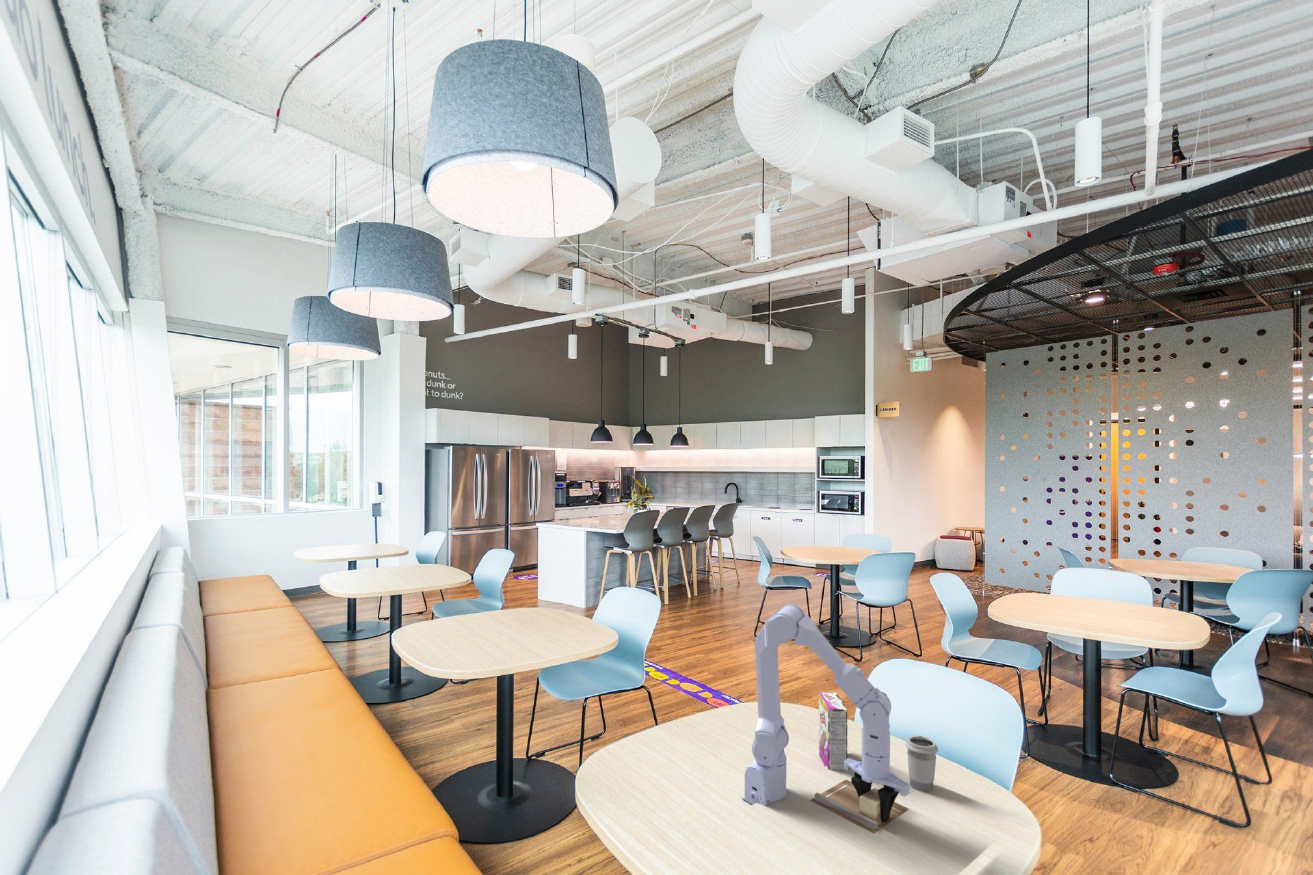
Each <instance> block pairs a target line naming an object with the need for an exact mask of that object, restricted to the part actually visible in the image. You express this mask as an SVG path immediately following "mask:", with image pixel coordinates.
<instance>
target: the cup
mask: <svg viewBox="0 0 1313 875" xmlns="http://www.w3.org/2000/svg"><path fill="white" fill-rule="evenodd" d="M905 747H906V749H907V767H908V776H909V784H910V788H912V789H914V790H915V791H918V792H922V793H929V792H931V791H933V788H934V781H935V775H936V774H935V773H936V764H937V763H936V761H937V754H936V753H938V752H939V748H938V745H937V744H936V741H935V740H933V739H931V738H930V737H926V736H923V735H912V736H909V737H908V739H907V740H906V742H905Z"/></svg>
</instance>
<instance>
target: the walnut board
mask: <svg viewBox="0 0 1313 875" xmlns="http://www.w3.org/2000/svg"><path fill="white" fill-rule="evenodd" d="M809 801H810V802H812V803H813V804H816V805H818V806H819V807H821V808H824V809H826V810H828V811H829V812H832V813H834V814H835V815H837V816H839V817H841V818H843V819H845V820H847V821H848V822H851V823H852V824H854V825H856V826H859V827H860V828H862V829H864V830H866V831H868V832H871V833H872V834H876V833H877V832H878V831H879V830H881V829H883V828H884V827H886V826H887V825H888V824H890V823H891V822H893V821H894V820H895V819H897V818H898V817H900V816H901V815H903V814H904V813H905V812H907V811H909V810H910V809H909V807H906V806H904V805H902V804H900V803H898V802H895V801H894V803H893V806H892V813H891V817H889V819H888V820H887V821H885V822H882V823H880V824H879V825H878V826H877V822H875V821H873V820H871V819H869V818H867V817H865V816H863V815H861V814H859V797H858V794H857V791H856V789H855V787H854V785H853V784H852V782H851V780H848V779H844V780H843V781H841V782H839V783H837V784H836V785H834V786H832V787H830V788H829V789H826V790H825V791H823V792H822V793H819V792H816V793H814V797H813V798H811V799H809Z"/></svg>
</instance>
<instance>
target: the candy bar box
mask: <svg viewBox="0 0 1313 875" xmlns="http://www.w3.org/2000/svg"><path fill="white" fill-rule="evenodd" d="M818 755H819V757H820V760H821V761H822V763H823V765H824V767H827V770H830V771H831V770H832V771H845V770H844V761H845V760H847V759H848V709H847V707H846V706H845V704H844V702H843V701H842V699H841V697H840V696H839V695H838V693H837V692H831V691H830V692H829V691H827V692H825V691H820V692H818Z"/></svg>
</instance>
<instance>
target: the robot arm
mask: <svg viewBox="0 0 1313 875" xmlns="http://www.w3.org/2000/svg"><path fill="white" fill-rule="evenodd" d="M793 639H795V640H794V641H793V644H794V645H796V646H797V645H799V646H806V647H808V648H810V649H811V651H812V652H813V653H814V654H815V655H816V656H817V657H818V658H819V659H820V660H821V661H822V662H823V663H824V665H826V666H827V668H828V669H829V670H831V671H832V672H833V674H834V683H835V684H836V685H837V686H838V687H839V690H841V691H842V692H843V693H844V694H845V696H846V697H847V699H849V700H850V701H851V702H852V704H854V706H855V707H856V708H857V709H859V710H860V711H859V716H860V719H861V721H862V728H861V761H859V760H855V759H852V758H850V757H847V760H845V761H844V770H843V771H847V772H849V771H851V772H853V773H854V775H853V776H852V777H851V778H850V779H851V780H850V782H852V784H853V785H854V787H855V789H856V791H857V794H858V797H860V796H862V795H863V794H865V793H867V792H868V791H870V790H871V789H872V785H873V783H875V784H879V785H881V786H882V787H881V788H878V789H879V790H878V795H879V799H880V806H881V821H883V822H885V821H887V820H888V819H889V817H890V812H891V809H892V806H893V803H894V802H895V801H896V799H897V797H898V796H899V795H900V796H902V797H907V796H908V795H910V793H911V792H910V789H911V785H910V783H908V782H906V781H904V780H902V779H901V778H899V777H898V775H897V776H896V775H895V774H894V773H892V772H891V760H890V759H891V731H890V726H891V725H890V715H891V711H892V703H891V700H890V698H889V697H888V694H887V693H885V692H884V691H882V690H880V689H879V688H878V687H874V685H873V684H872V683H871V682H870V681H869V679H868V678H867V677H866V676H865V675H864V674H865V671H864V670H863V669H862V668H861V667H859V668H858V667H857V666H856V665H855V664H851V663H847V662H846V661H845V660H844V659H843V658H842V656H840V654H839V653H838V651H837V650H836V649H835V648H834V647H833V645H832V644H831V643H830V642H829V640H827V638H826V637H825V635H823V633H822V632H821V631H820V629H818V627H817V625H816V624H815V622H814V621H813V620H812V618H811V617H810V616H808V615H807V614H806V613H805V611H804V610H803V609H802V608H801V607H800V606H799V605H797V604H793V603H792V604H791V603H789V604H785V605H784V606H782V607H781V608H779V609H778V610H777V611H775V612H774V614H773V615H772V616H770V617H769V618H768V619H767V620H765V621H764V624H763V626H762V628H761V629H760V631H759V632H758V634H757V635H756V637H755V639H754V651H755V652H754V654H755V658H754V659H755V672H756V673H755V675H756V678H755V679H756V693H757V694H756V697H757V715H758V718H757V723H756V727H755V730H754V739H753V740H754V741H753V742H752V744H751V752H752V756H753V760H752V763H751V764H750V765H748V767H747V768H746V769H745V771H744V794H743V795H741V799H742V800H744V801H746V802H748V803H749V804H751V805H755V804H757V803H758V804H760V805H763V807H764V806H767V805H769V804H771V803H772V802H776V801H778V800H782V799H784V798H785V797H786V796H787V756H786V754H785V748H786V747H787V746H788V744H789V741H790V736H789V732H788V730H787V728H786V726H785V719H784V718H783V716H782V712H781V710H782V709H781V693H780V672H779V669H780V668H779V654H778V652H779V651H778V647H780V646H781V645H782V644H784V643H788V642H790V641H791V640H793Z"/></svg>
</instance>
